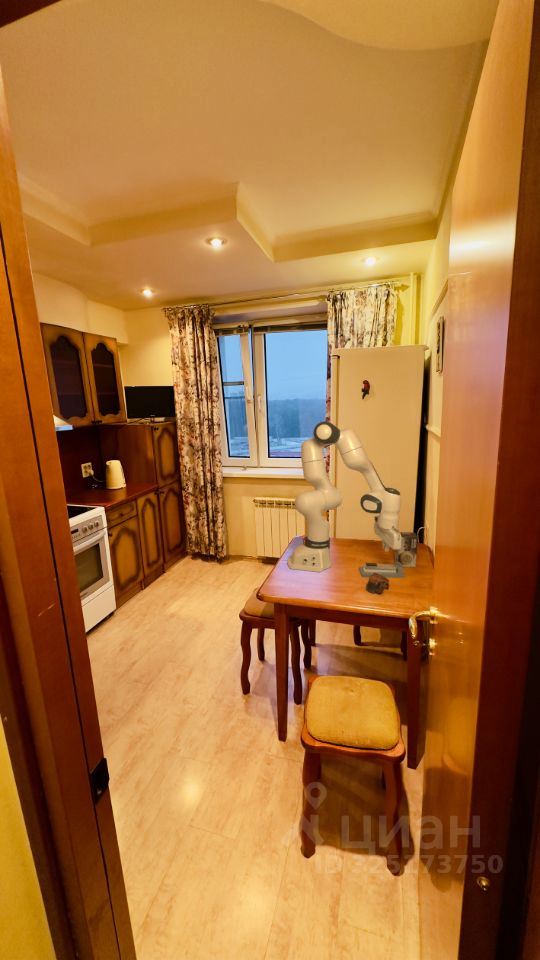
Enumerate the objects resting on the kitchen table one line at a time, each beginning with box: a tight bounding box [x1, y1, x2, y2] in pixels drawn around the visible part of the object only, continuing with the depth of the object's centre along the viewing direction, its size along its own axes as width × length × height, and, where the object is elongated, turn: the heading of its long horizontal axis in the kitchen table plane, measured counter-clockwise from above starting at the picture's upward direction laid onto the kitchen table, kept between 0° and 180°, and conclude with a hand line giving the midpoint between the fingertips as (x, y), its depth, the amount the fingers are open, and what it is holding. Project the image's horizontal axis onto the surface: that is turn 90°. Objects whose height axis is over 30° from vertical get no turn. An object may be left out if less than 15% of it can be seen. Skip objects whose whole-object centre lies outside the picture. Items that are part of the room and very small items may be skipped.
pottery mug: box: [365, 573, 390, 595], centre depth 158 cm, size 12×10×8 cm
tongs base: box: [358, 561, 406, 579], centre depth 174 cm, size 20×8×4 cm, turn 86°
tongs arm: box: [363, 562, 400, 570], centre depth 173 cm, size 16×3×2 cm, turn 86°
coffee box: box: [394, 531, 419, 568], centre depth 181 cm, size 9×6×16 cm
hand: (385, 549), depth 171 cm, fingers closed
